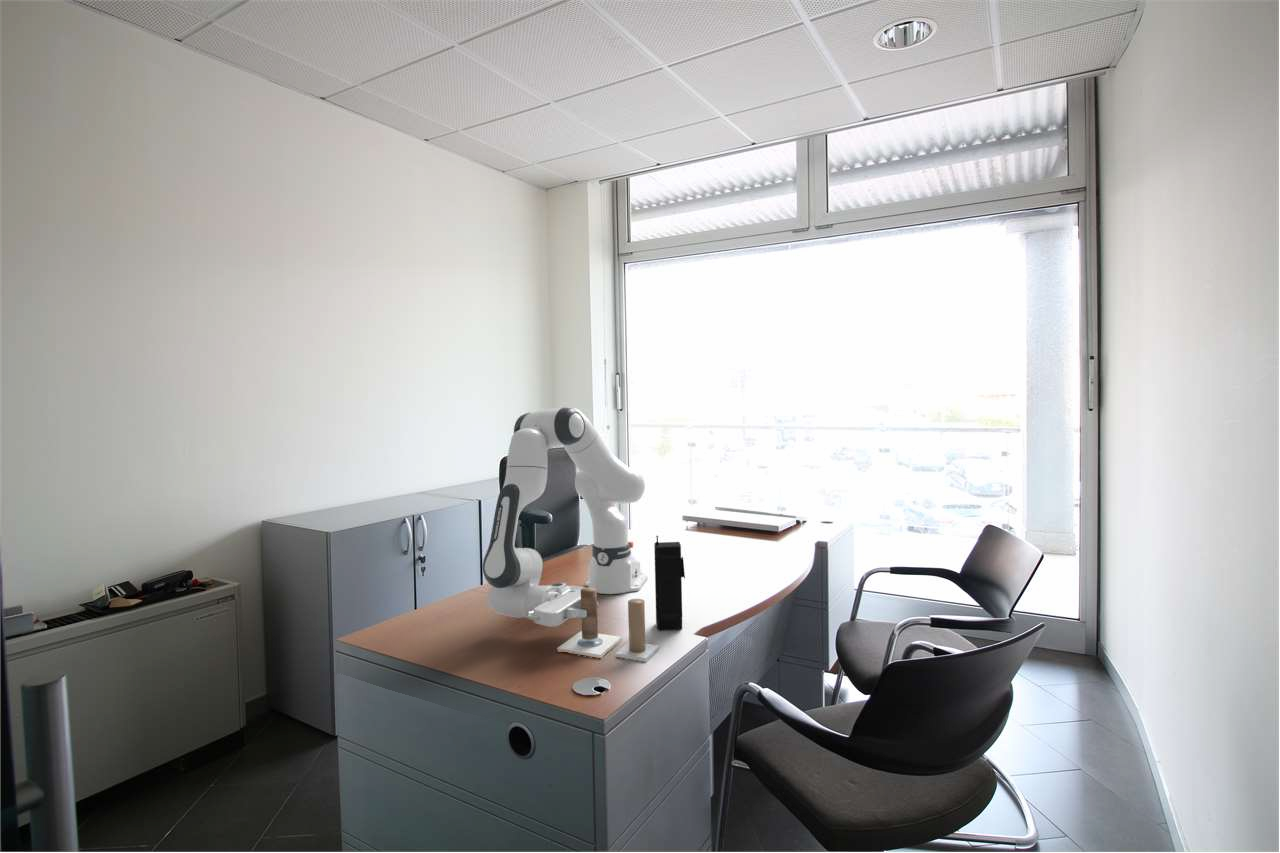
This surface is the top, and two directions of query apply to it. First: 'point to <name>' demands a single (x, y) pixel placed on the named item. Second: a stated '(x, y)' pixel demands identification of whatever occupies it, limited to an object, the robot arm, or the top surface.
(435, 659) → the top surface
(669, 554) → the portable radio
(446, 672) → the top surface
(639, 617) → the tan wooden dowel
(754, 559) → the top surface
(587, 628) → the walnut pin
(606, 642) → the plate
